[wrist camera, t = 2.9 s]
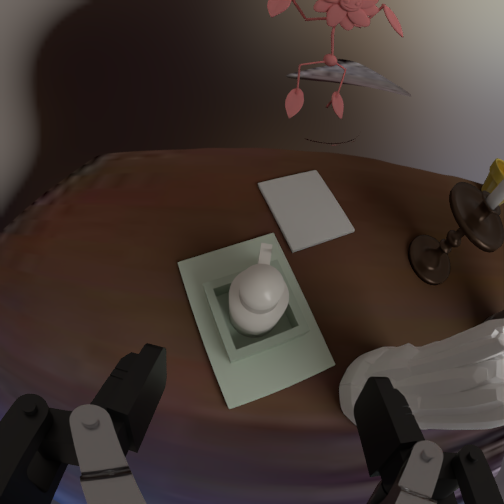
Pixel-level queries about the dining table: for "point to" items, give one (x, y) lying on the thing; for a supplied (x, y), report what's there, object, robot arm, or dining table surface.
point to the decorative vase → (440, 378)
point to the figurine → (347, 15)
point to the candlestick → (460, 231)
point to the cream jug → (258, 297)
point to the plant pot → (494, 176)
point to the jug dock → (245, 348)
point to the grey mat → (305, 210)
